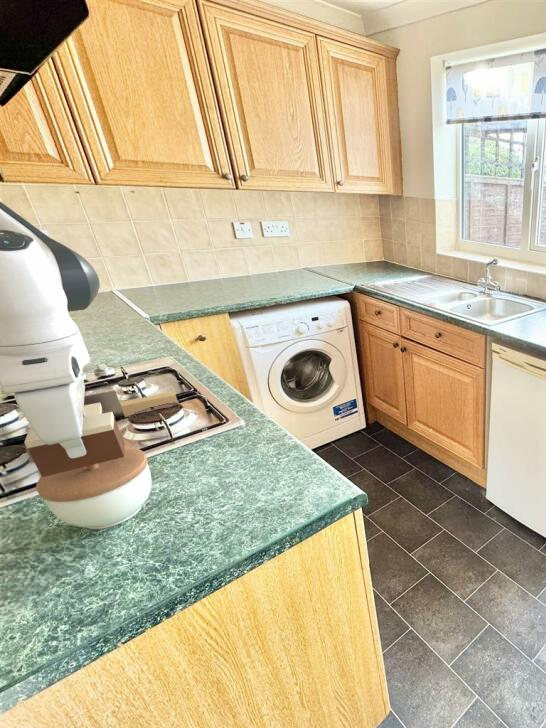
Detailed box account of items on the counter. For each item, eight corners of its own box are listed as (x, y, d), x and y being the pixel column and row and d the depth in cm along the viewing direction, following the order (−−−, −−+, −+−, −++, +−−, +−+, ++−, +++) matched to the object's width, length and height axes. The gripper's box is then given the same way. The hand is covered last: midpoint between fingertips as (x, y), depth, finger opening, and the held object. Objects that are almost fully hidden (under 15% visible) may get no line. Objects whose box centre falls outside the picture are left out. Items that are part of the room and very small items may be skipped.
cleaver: (43, 435, 88) (30, 408, 85) (44, 430, 89) (31, 403, 87) (178, 405, 102) (171, 381, 99) (177, 402, 104) (170, 378, 101)
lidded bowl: (126, 542, 64) (100, 484, 60) (35, 543, 63) (2, 485, 58) (178, 488, 76) (160, 437, 71) (102, 488, 74) (79, 436, 70)
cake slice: (42, 477, 60) (23, 442, 58) (46, 461, 63) (29, 427, 61) (124, 457, 66) (111, 424, 63) (124, 443, 69) (112, 411, 66)
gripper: (18, 337, 63) (55, 418, 68) (-4, 387, 49) (44, 482, 55) (77, 331, 66) (107, 407, 72) (71, 375, 53) (108, 465, 59)
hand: (79, 440), depth 63 cm, fingers open, 8 cm apart
